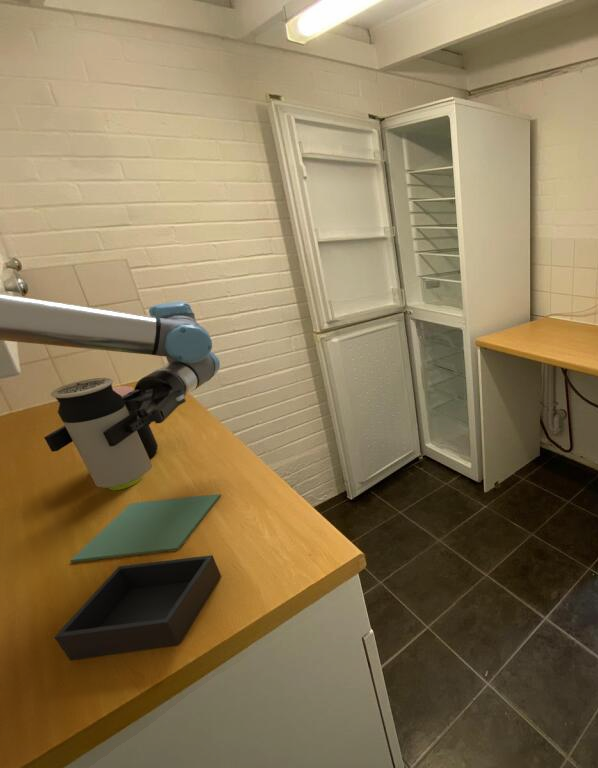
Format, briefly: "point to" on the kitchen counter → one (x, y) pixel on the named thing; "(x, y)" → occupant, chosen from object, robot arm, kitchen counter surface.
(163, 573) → the dark grey tray
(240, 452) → the kitchen counter surface
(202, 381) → the robot arm
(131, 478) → the travel mug
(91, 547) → the mat
